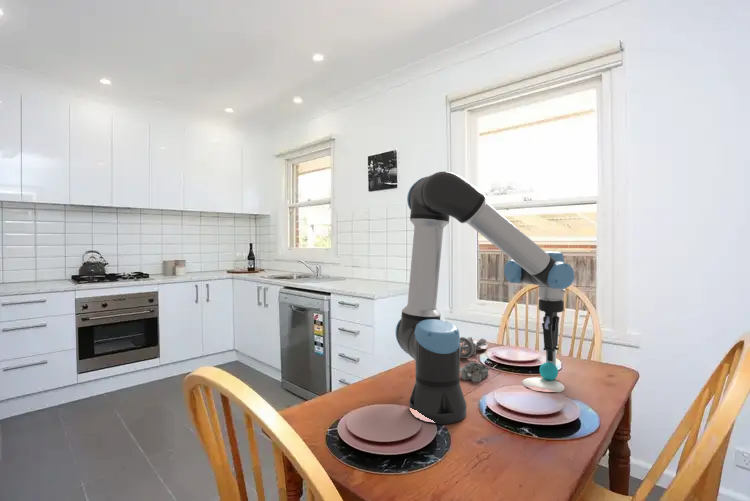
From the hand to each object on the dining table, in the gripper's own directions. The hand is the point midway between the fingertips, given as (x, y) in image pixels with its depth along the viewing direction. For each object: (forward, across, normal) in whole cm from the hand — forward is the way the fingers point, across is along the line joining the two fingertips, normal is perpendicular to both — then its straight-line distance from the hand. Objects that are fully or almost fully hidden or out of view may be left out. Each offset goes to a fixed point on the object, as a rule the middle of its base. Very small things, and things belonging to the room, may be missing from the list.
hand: (551, 369), depth 127 cm
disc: (+2, -10, 0) cm, 10 cm away
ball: (0, -3, 0) cm, 3 cm away
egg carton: (+3, -14, +20) cm, 25 cm away
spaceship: (+2, +1, +32) cm, 32 cm away
